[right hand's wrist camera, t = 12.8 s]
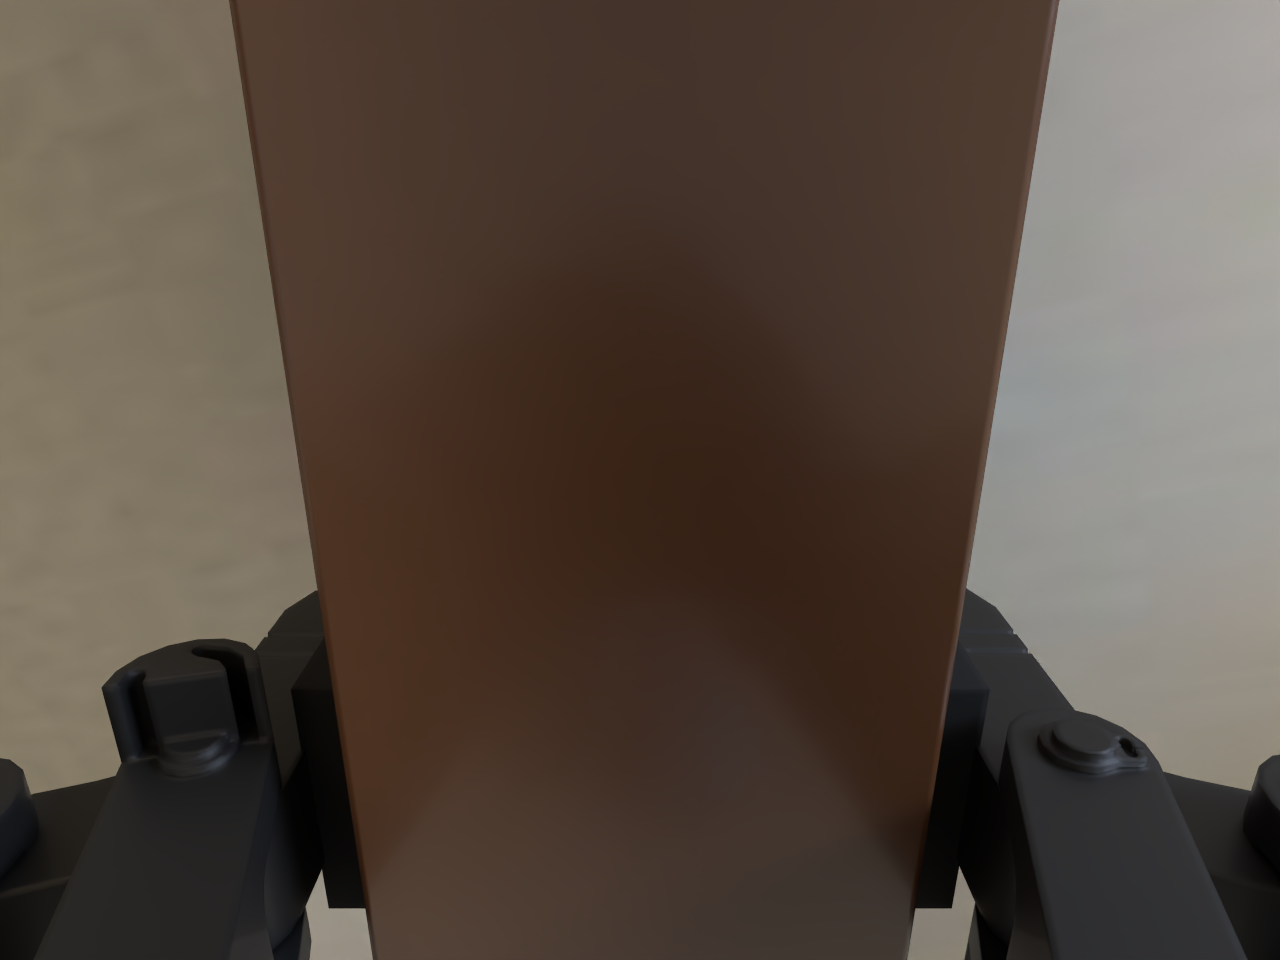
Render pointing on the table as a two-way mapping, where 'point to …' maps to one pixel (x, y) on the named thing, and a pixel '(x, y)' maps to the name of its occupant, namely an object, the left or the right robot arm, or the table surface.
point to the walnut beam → (642, 445)
